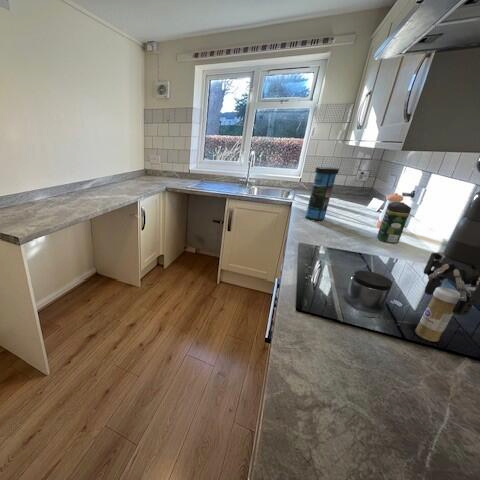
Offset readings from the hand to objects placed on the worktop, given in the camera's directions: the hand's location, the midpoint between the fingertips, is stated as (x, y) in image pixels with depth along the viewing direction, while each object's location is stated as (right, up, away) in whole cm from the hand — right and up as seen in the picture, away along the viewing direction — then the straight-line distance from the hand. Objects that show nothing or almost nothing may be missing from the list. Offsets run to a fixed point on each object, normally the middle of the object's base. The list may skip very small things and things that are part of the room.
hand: (443, 303), depth 62 cm
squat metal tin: (-8, -5, +14) cm, 17 cm away
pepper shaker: (+57, +22, +82) cm, 103 cm away
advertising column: (+26, +28, +95) cm, 102 cm away
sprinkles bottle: (0, -9, +4) cm, 10 cm away
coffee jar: (+43, +15, +64) cm, 79 cm away
